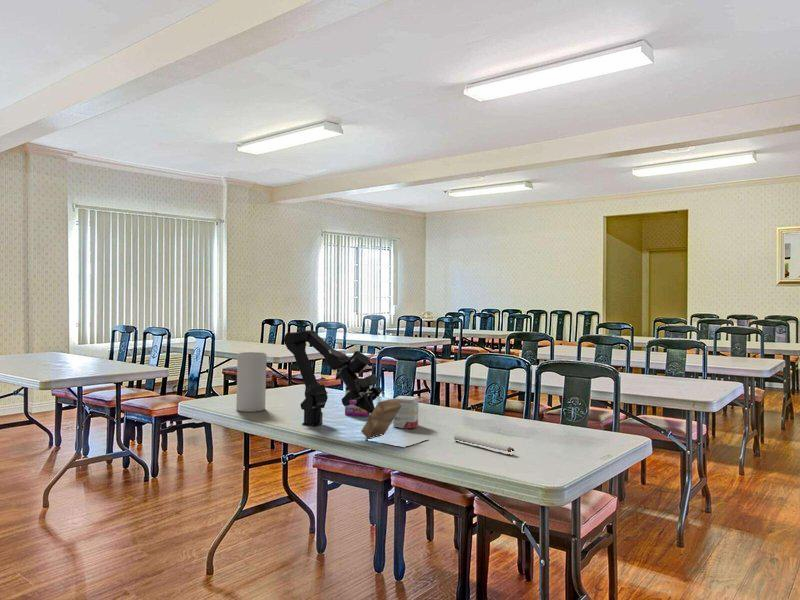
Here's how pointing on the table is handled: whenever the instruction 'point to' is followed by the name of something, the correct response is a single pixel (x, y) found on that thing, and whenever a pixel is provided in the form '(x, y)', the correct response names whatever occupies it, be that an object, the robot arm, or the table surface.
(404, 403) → the ink box
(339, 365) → the robot arm
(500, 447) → the tube
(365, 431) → the brown cardboard box
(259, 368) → the cylinder vase
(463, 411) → the table surface
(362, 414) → the candy bar box
